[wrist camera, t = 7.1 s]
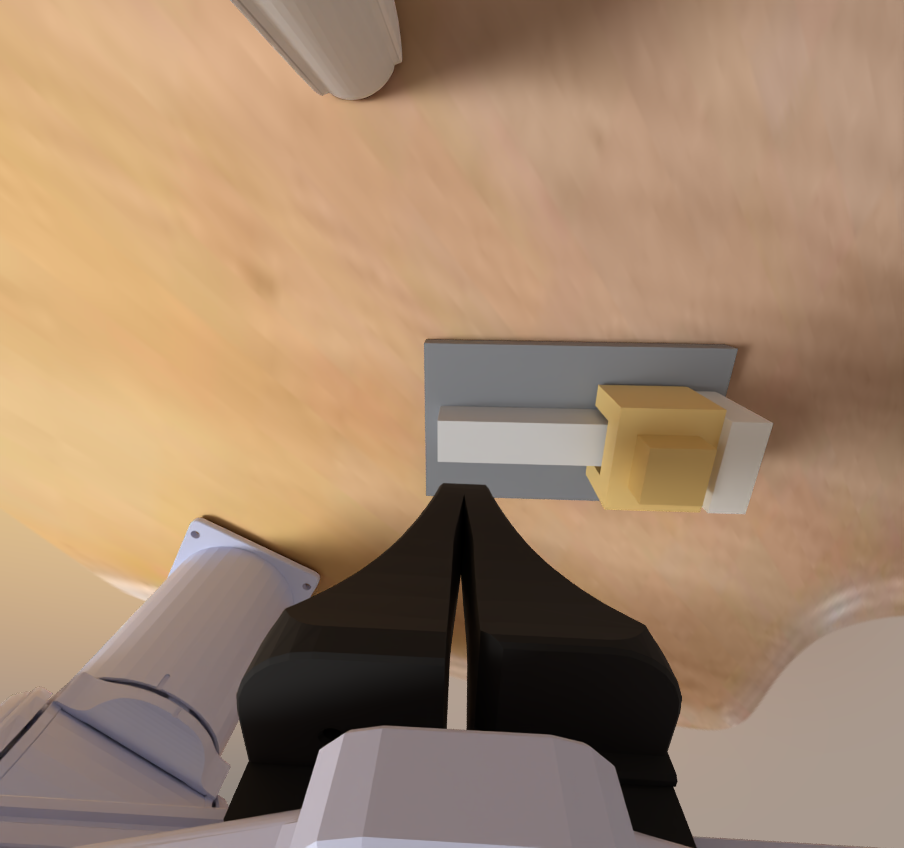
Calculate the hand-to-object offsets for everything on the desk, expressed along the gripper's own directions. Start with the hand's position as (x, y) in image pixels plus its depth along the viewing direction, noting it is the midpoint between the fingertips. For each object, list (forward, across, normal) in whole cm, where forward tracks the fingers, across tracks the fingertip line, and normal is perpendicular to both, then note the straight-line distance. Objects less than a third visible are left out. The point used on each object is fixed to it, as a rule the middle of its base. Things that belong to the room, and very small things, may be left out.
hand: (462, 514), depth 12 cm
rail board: (+10, -5, +1) cm, 11 cm away
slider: (+9, -8, +1) cm, 12 cm away
